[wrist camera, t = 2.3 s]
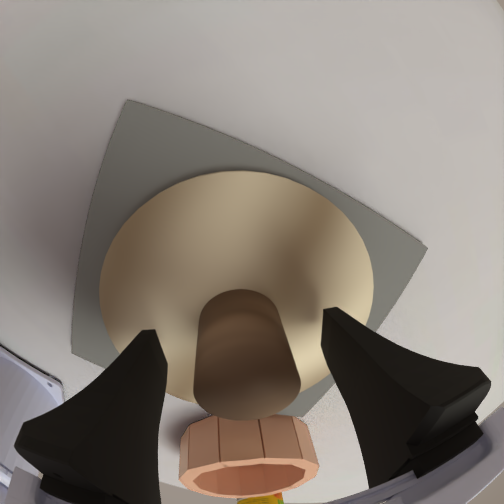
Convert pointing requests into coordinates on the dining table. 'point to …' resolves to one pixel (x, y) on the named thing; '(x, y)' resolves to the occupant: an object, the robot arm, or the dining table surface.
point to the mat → (191, 165)
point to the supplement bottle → (262, 499)
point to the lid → (235, 287)
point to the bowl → (246, 456)
